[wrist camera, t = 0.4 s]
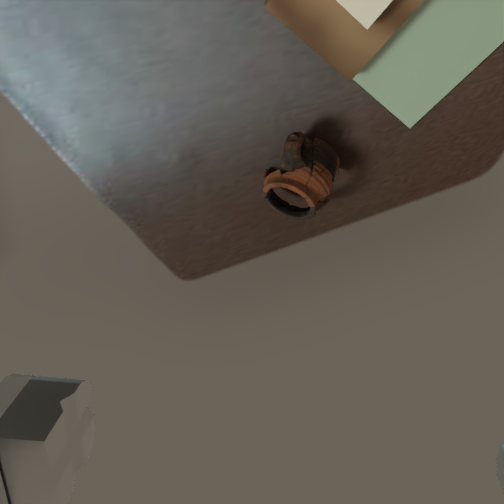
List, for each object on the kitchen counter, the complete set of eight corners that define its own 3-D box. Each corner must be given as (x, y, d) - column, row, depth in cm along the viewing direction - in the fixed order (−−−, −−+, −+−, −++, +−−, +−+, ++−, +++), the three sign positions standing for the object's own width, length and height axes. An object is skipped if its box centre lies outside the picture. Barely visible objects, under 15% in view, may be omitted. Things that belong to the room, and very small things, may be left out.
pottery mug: (349, 181, 62) (329, 229, 58) (287, 173, 66) (265, 218, 63) (335, 111, 52) (309, 165, 49) (263, 108, 57) (235, 157, 53)
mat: (471, -58, 43) (472, -57, 43) (531, 13, 47) (533, 14, 47) (350, 76, 52) (351, 77, 52) (409, 127, 56) (409, 128, 55)
